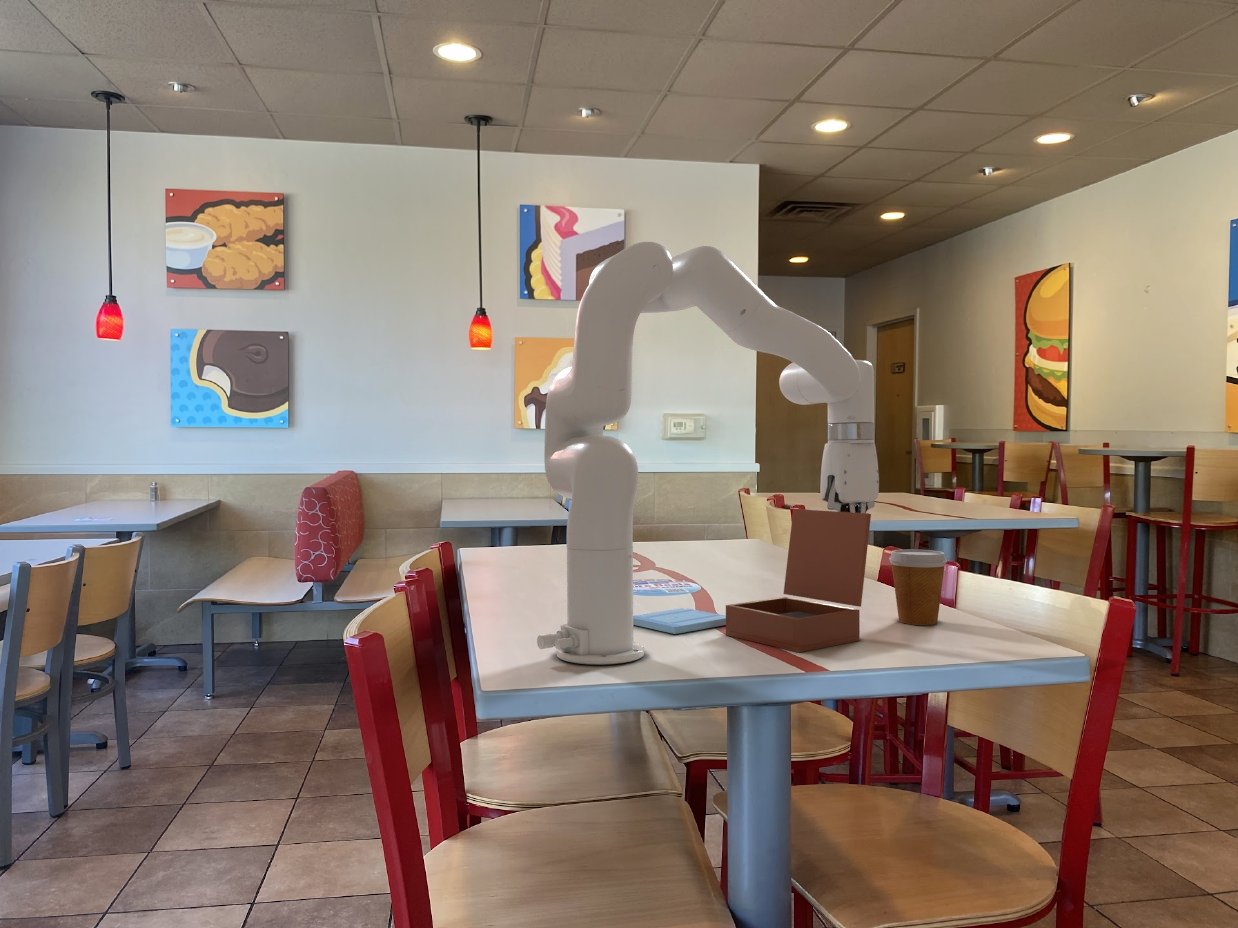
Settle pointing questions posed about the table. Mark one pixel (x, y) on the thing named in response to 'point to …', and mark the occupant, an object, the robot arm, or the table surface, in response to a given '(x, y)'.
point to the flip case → (793, 623)
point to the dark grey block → (798, 614)
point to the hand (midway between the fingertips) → (851, 544)
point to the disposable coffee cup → (918, 584)
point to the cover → (827, 556)
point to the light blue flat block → (679, 620)
